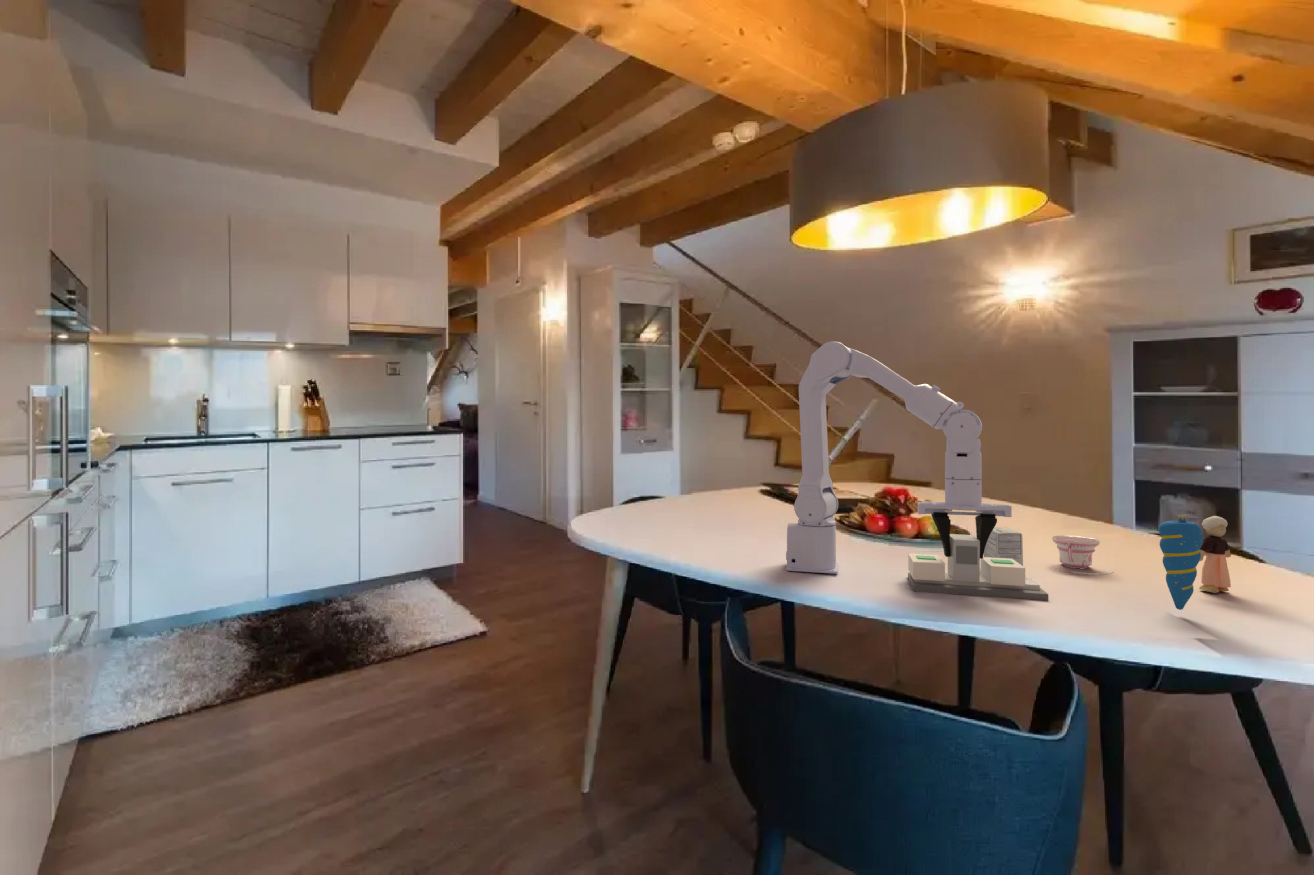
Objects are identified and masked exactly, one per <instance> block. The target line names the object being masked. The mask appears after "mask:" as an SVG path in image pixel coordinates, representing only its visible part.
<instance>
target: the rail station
mask: <svg viewBox="0 0 1314 875" xmlns="http://www.w3.org/2000/svg"><path fill="white" fill-rule="evenodd" d="M907 555H908V556H907V557H908V566H907V568H908V571H909V572H907V578H908V580H909V584H910V586H911V588H912V590H913V592H921V593H923V592H924V593H937V594H953V595H964V596H965V595H968V596H977V597H978V596H979V597H980V596H981V597H995V598H1008V599H1009V598H1010V599H1025V600H1037V601H1049V592H1046V591H1045V590H1044V589H1042V588H1041V585H1040V583H1038V582H1036V581H1035V580H1034V579H1033V578H1031V577H1030V578H1029V577H1026V567H1024V565H1023V566H1022V565H1020V564H1019V563H1018V562H1016V561H1015V560H1013V559H1010V558H991V557H984V556H983V559H980V574H981V575H980V582H967V581H953V579H952V578H951V577H950V575H949V574H948V572H947V573H946V563H945V562H944V561H943V559H942V558H941V557H940V555H939V554H932V553H931V554H927V553H925V554H924V553H911V552H909V553H908V554H907Z"/></svg>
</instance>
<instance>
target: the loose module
mask: <svg viewBox="0 0 1314 875" xmlns="http://www.w3.org/2000/svg"><path fill="white" fill-rule="evenodd" d="M950 549H951V556H950V557H947V573H948V574H949V575H950V577H951V578H952V579H953V581H967V582H980V574H981V559H980V541H979V540H978V539H977V536H975V535H972V534H956V533H950Z"/></svg>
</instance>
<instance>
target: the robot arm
mask: <svg viewBox="0 0 1314 875" xmlns="http://www.w3.org/2000/svg"><path fill="white" fill-rule="evenodd" d="M853 376H854V377H856V378H869V379H870V380H871V381H873V382H875V383H877V384H878V385H880V386H881V387H883V388H885V389H887V390H888V391H890V392H892V393H893V394H894V395H896V396H898V397H900V398H901V399H903V400H904V404H905V409H906V411H907V412H909V413H911V414H912V415H914V416H915V417H916V418H918V419H920V420H922V421H923V422H924V423H925V424H927V425H929V426H931V427H932V428H933V429H934V430H942V432H943V434H944V437H946V447H945V448H946V449H945V450H946V451H945V453H944V501H943V502H942V501H941V502H940V501H938V502H937V501H936V502H929V501H928V502H926V501H925V502H923V501H921V502H920V501H918V502H917V514H918V515H927V514H928V515H931V518H932V520H933V522H934V525H935V527H936V529H937V531H938V534H939V536H940V540H941V544H942V547H943V554H944V556H945V557H946V558H948V557H950V556H951V549H950V534H951V519H950V516H952V515H953V516H954V515H955V516H975V517H974V519H975V530H976V536H975V537H976V538H977V539H978V540H979V541H980V560H981V559H983V557H984V550H985V546H986V543H987V541H988V538H989V536H990V534H991V532H992V530H993V528H994V527H996V526H997V523H998V518H997V517H1005V518H1012V515H1013V514H1012V510H1013V509H1012V505H1010V504H998V503H997V504H996V503H982V502H983V501H982V500H983V498H982V497H983V494H982V492H983V490H982V488H983V485H982V482H983V480H982V479H983V476H982V474H983V473H982V472H983V467H982V466H983V465H982V463H983V461H982V454H983V453H982V452H981V449H982V443H981V439H980V438H979V437H980V435H981V433H982V431H983V423H982V421H981V419H980V417H979V416H978V415H977V414H976V413H974V411H972V410H969V409H963V408H964V406H965V403H963V402H962V401H961V400H960V401H957V402H956V401H955V400H954V399H951V398H950V397H948V396H947V395H945V394H944V393H942V392H941V387H939V386H937V385H935V384H932V386H931V385H930V384H927V383H923V384H918V385H914V384H913V383H912V382H910V381H909V380H908V379H906V378H904V377H902V376H901V375H900V374H898V373H896V372H895V371H894V370H892V369H891V368H889V367H888V366H886V365H884V364H883V363H882V362H880V361H878V360H877V359H875V358H873V357H872V356H870V355H868V354H866V353H863V352H861V351H859V350H856V349H854V348H852V347H847V346H845V345H844V344H843V343H842V342H840V341H835V340H834V341H833V340H832V341H827V342H825V343H823V344H822V345H821V346H820V347H819V348H817V349H816V350H815V351H814V352H813V353H812V354H811V356H810V360H809V363H808V366H807V368H806V370H805V372H804V374H803V376H802V378H801V380H800V381H799V383H798V402H799V403H798V404H799V407H798V408H799V426H800V428H799V429H800V430H799V431H800V450H801V454H800V455H801V471H802V472H801V474H802V475H801V478H800V481H799V483H798V487H797V488H798V491H797V497H796V499H795V501H794V513H795V515H796V517H797V518H798V519H797V522H796V523H795V522H792V523H788V524H787V527H786V528H787V529H786V551H785V557H786V558H785V560H786V571H787V572H788V571H789V572H803V573H820V574H838V573H839V563H837V558H836V557H837V545H836V544H837V542H836V540H837V525H836V522H837V521H836V520H835V518H834V516H835V514H836V513H837V511H838V509H839V500H838V497H837V495H836V493H835V491H834V487H833V481H832V478H831V475H830V468H829V467H830V465H829V464H830V463H829V447H828V446H829V443H828V440H829V439H828V425H827V424H828V419H827V399H826V398H827V397H826V396H827V394H828V393H829V392H831V390H832V389H833V388H834V387H835V386H837V384H839V383H841V382H843V381H845V380H847V379H849V378H851V377H853Z"/></svg>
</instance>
